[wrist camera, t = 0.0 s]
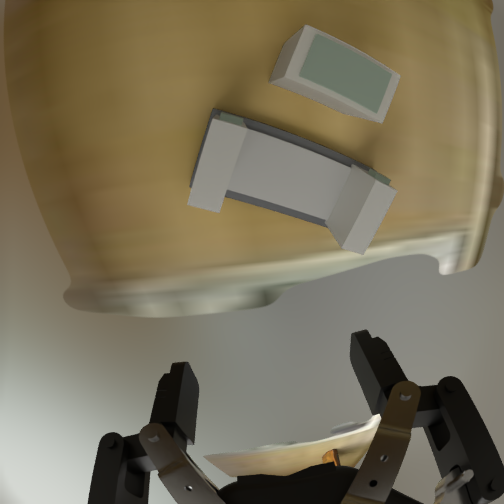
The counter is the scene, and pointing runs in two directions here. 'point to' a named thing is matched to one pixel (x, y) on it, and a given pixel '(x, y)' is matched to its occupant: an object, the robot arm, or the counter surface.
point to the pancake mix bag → (331, 457)
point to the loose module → (335, 75)
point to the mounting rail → (289, 179)
